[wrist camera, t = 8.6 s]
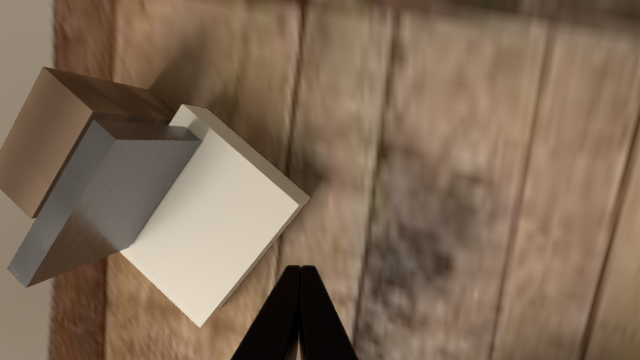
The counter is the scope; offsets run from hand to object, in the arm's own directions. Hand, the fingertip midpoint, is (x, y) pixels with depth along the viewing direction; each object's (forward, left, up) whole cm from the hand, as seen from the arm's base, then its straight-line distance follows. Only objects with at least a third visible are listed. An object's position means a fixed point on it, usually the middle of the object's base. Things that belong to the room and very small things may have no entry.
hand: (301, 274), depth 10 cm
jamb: (0, +18, -14) cm, 23 cm away
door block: (-4, +11, -14) cm, 18 cm away
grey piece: (-1, +16, -11) cm, 20 cm away
